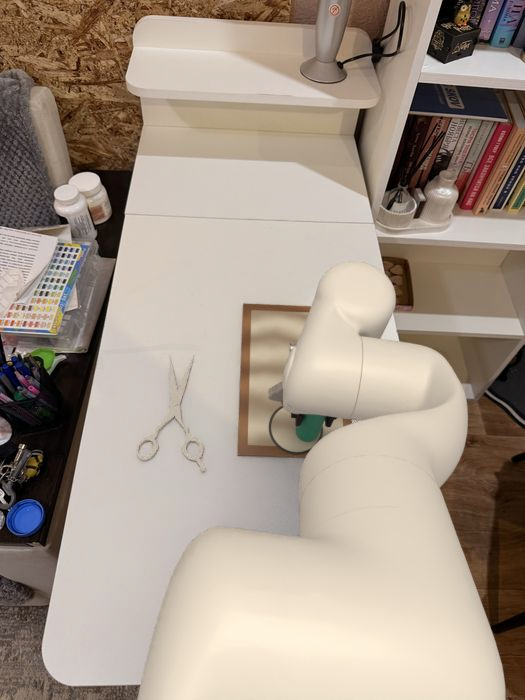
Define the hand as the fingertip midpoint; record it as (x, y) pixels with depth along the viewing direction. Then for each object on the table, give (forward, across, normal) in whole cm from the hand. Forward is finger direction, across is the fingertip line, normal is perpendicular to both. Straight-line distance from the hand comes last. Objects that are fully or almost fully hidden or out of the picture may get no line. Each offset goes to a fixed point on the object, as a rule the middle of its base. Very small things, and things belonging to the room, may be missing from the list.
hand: (312, 416), depth 73 cm
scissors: (+9, -20, +4) cm, 23 cm away
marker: (+7, 0, 0) cm, 7 cm away
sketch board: (+9, -2, +11) cm, 14 cm away
